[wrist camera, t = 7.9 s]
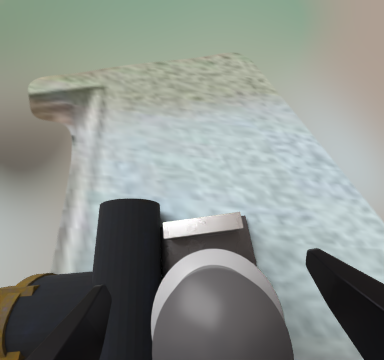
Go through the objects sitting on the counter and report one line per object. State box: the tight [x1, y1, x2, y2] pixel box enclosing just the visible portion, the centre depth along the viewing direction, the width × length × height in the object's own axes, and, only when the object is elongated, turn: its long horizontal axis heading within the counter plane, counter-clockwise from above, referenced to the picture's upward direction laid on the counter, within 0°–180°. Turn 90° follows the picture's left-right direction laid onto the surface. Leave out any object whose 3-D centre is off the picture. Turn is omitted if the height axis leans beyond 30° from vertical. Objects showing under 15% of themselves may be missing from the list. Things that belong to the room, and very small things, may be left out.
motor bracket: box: [160, 212, 257, 278], centre depth 12 cm, size 15×8×5 cm, turn 7°
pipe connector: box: [0, 199, 161, 360], centre depth 13 cm, size 12×5×15 cm
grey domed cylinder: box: [151, 249, 294, 360], centre depth 10 cm, size 5×5×11 cm
